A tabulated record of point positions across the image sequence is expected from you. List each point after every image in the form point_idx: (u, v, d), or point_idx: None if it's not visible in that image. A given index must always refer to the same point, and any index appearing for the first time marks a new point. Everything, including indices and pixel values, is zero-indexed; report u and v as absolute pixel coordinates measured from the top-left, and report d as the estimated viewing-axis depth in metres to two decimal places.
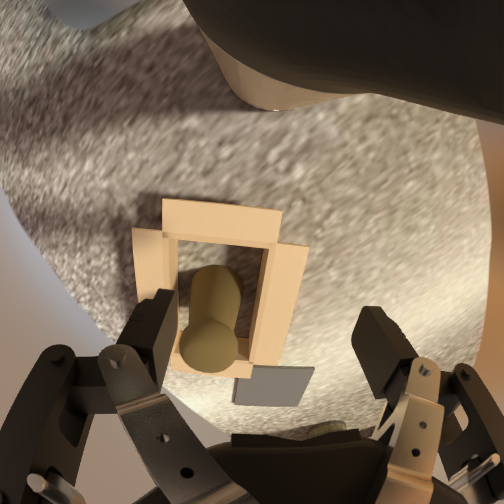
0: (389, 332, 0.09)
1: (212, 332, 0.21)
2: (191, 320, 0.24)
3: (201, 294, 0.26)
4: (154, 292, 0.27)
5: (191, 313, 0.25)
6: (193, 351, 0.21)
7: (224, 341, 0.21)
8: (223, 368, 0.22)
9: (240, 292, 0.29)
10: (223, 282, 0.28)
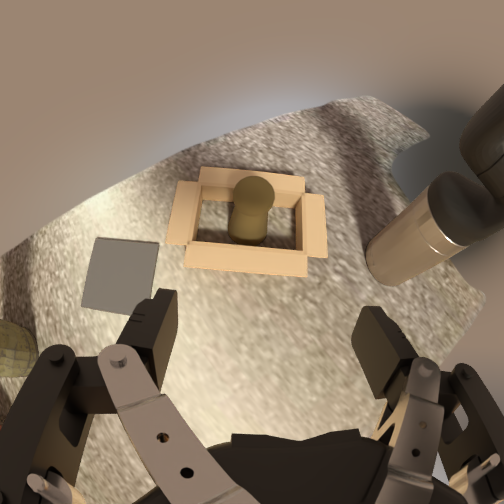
0: (389, 332, 0.09)
1: (274, 197, 0.33)
2: None
3: None
4: None
5: None
6: (263, 182, 0.33)
7: (270, 202, 0.32)
8: (246, 198, 0.32)
9: (254, 240, 0.40)
10: (266, 227, 0.40)
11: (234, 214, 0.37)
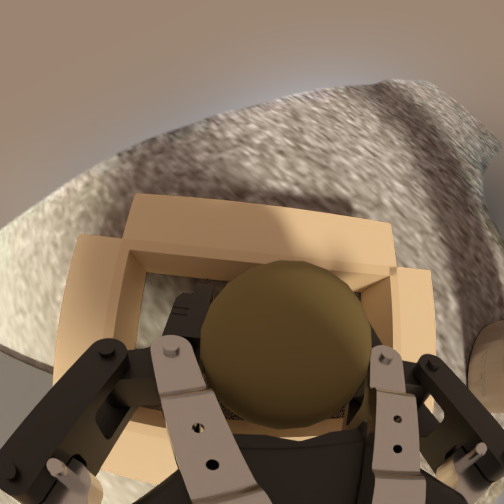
0: None
1: None
2: None
3: None
4: (292, 238, 0.15)
5: None
6: (338, 302, 0.07)
7: None
8: (258, 399, 0.06)
9: None
10: None
11: None
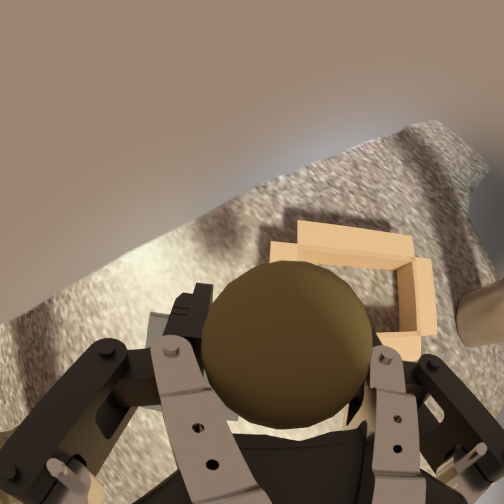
0: None
1: None
2: None
3: None
4: (371, 244, 0.31)
5: None
6: (339, 302, 0.07)
7: (358, 389, 0.07)
8: (260, 399, 0.06)
9: None
10: None
11: None
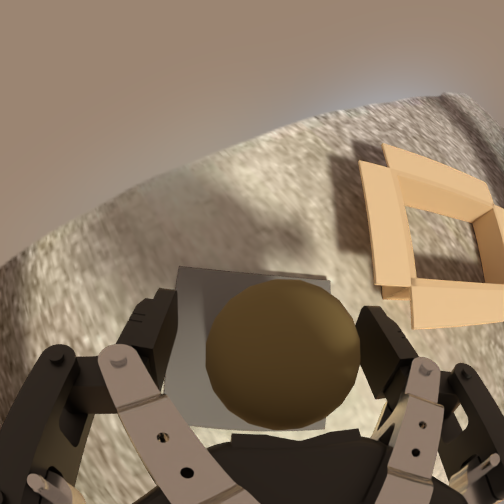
0: (389, 332, 0.09)
1: None
2: None
3: None
4: (457, 182, 0.21)
5: None
6: (329, 319, 0.08)
7: (346, 395, 0.07)
8: (257, 404, 0.07)
9: None
10: None
11: None
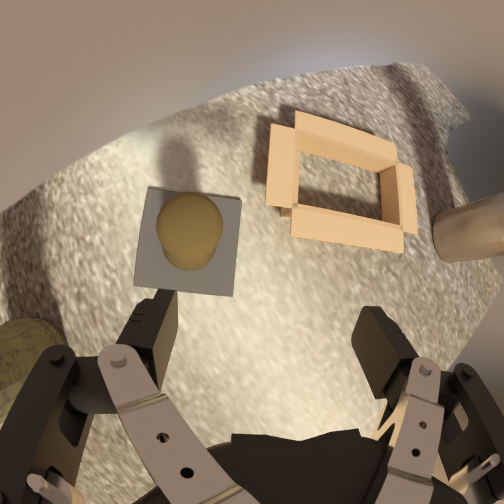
0: (389, 332, 0.09)
1: (221, 232, 0.21)
2: None
3: None
4: (360, 141, 0.33)
5: None
6: (204, 208, 0.20)
7: (213, 244, 0.20)
8: (173, 239, 0.19)
9: (195, 266, 0.28)
10: (213, 250, 0.28)
11: None
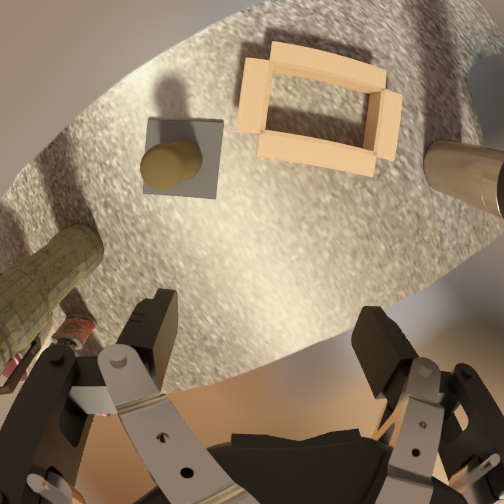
0: (389, 332, 0.09)
1: (183, 171, 0.28)
2: None
3: (190, 153, 0.32)
4: (341, 68, 0.29)
5: (180, 148, 0.30)
6: (168, 158, 0.26)
7: (177, 180, 0.28)
8: (150, 181, 0.27)
9: (184, 180, 0.36)
10: (195, 168, 0.35)
11: None
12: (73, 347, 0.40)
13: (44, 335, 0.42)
